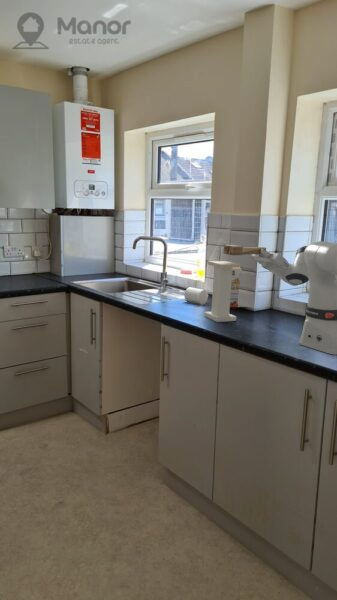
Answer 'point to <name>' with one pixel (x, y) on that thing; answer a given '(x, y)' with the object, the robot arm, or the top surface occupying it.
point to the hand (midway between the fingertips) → (257, 249)
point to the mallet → (241, 250)
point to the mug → (196, 295)
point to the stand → (221, 291)
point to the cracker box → (235, 286)
